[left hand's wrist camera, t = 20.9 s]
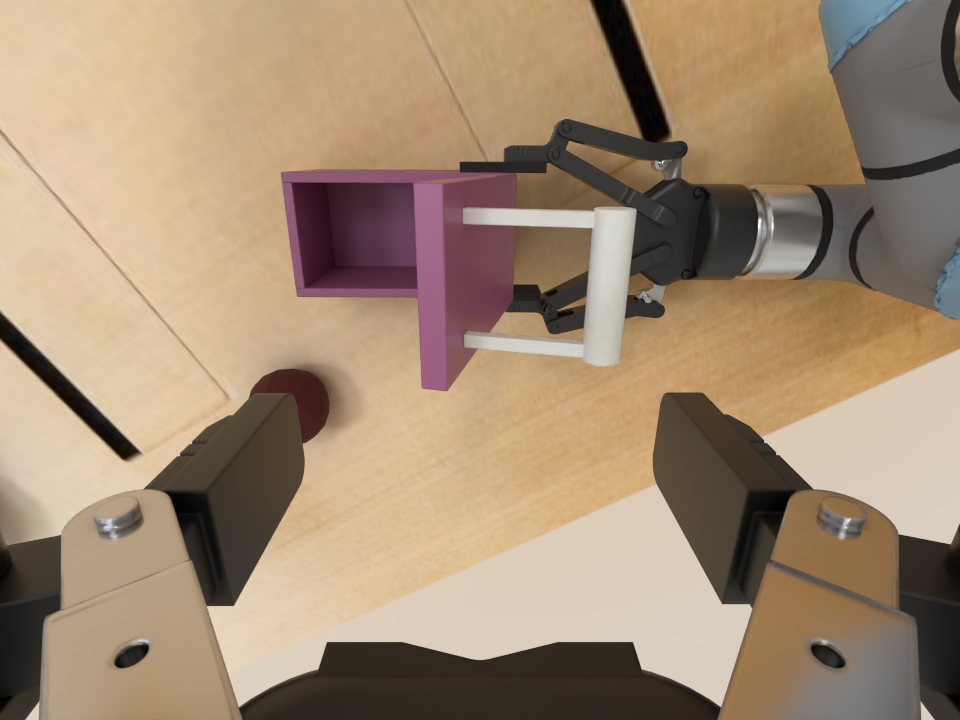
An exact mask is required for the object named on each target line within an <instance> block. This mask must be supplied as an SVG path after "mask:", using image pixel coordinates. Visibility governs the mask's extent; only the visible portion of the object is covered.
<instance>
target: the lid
mask: <svg viewBox="0 0 960 720" xmlns="http://www.w3.org/2000/svg"><path fill="white" fill-rule="evenodd" d="M516 179H517V174H516V173H498V174H488V175H479V176H470V177H460V178H451V179H442V180H432V181H423V182H415V183H414V184H413V188H414V212H415V236H416V261H417V285H418V309H419V334H420V358H421V382H422V388H423V389H431V390H440V391H448V389H449V388H450V387H451V385H452V384H453V383H454V381H455V380H456V378H457V377H458V376H459V374H460V373H461V371H462V370H463V369H464V367H465V366H466V365H467V363H468V362H469V360H470V359H471V358H472V356H473V355H474V353H475V352H476V351H477V349H488V350H499V351H511V352H522V353H533V354H545V355H556V356H568V357H579V358H582V360H583V361H584V362H585V363H587V364H590V365H594V366H601V367H608V366H614V365H617V364H618V363H619V362H620V355H621V346H622V337H623V329H624V320H625V311H626V302H627V293H628V284H629V275H630V266H631V257H632V248H633V240H634V231H635V222H636V213H637V210H636V209H635V208H630V207H596V208H594V211H593V210H554V209H516ZM515 226H538V227H568V228H592V235H591V248H590V260H589V272H588V284H587V296H586V308H585V320H584V332H583V340H572V339H559V338H547V337H534V336H522V335H510V334H497V333H490V331H491V330H492V329H493V327H494V326H495V324H496V323H497V322H498V320H499V319H500V318H501V316H502V315H503V313H504V312H505V311H506V309H507V308H508V306H509V305H510V304H511V302H512V301H513V283H514V248H515Z"/></svg>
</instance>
